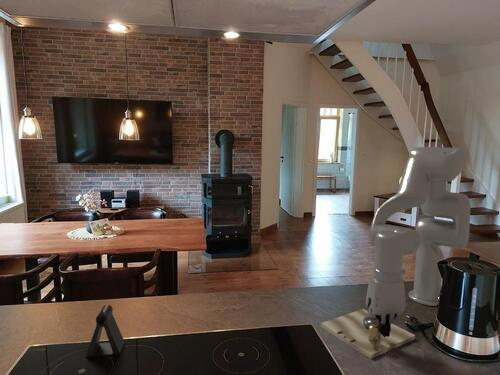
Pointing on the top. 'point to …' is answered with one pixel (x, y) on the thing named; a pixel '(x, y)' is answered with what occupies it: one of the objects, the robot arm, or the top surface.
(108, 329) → the dark triangular stand
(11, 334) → the top surface
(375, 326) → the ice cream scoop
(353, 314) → the stand board
